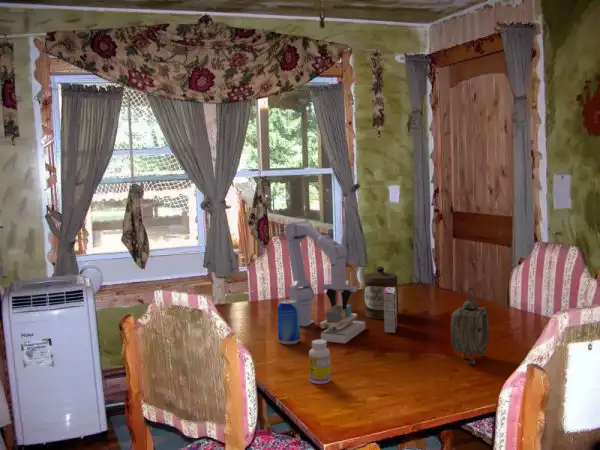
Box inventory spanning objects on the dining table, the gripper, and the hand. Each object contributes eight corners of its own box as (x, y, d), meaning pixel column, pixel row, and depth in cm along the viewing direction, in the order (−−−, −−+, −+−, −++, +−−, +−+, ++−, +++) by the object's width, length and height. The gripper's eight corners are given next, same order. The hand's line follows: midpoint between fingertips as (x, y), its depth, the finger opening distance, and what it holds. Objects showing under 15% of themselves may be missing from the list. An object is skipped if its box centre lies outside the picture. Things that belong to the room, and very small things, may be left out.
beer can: (303, 339, 244) (301, 299, 243) (295, 345, 236) (294, 304, 235) (282, 338, 247) (281, 298, 245) (275, 344, 239) (273, 303, 238)
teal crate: (338, 315, 253) (338, 306, 253) (342, 313, 257) (341, 304, 257) (347, 316, 252) (347, 306, 251) (351, 314, 255) (350, 304, 255)
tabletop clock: (476, 367, 206) (476, 292, 203) (449, 363, 211) (449, 290, 208) (488, 355, 218) (488, 284, 215) (463, 351, 223) (462, 282, 220)
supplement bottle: (308, 378, 201) (307, 339, 199) (329, 376, 201) (328, 337, 200) (310, 385, 194) (309, 345, 193) (332, 384, 195) (331, 343, 193)
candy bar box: (385, 325, 261) (384, 287, 259) (397, 326, 260) (396, 287, 258) (383, 333, 250) (382, 292, 248) (396, 333, 249) (395, 292, 247)
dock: (321, 340, 242) (320, 332, 241) (342, 326, 261) (342, 319, 261) (345, 343, 237) (344, 335, 237) (365, 328, 257) (365, 321, 257)
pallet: (320, 327, 243) (319, 310, 242) (339, 317, 260) (338, 300, 259) (339, 329, 239) (338, 311, 239) (357, 318, 256) (357, 301, 256)
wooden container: (360, 318, 274) (359, 268, 272) (369, 310, 288) (369, 263, 286) (393, 320, 269) (393, 270, 266) (401, 312, 282) (401, 264, 280)
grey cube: (326, 322, 244) (326, 311, 243) (331, 319, 247) (330, 309, 247) (336, 322, 242) (336, 312, 241) (340, 320, 245) (340, 310, 245)
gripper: (317, 275, 247) (318, 309, 249) (351, 277, 241) (352, 312, 242) (324, 272, 254) (325, 305, 255) (358, 274, 247) (358, 308, 249)
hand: (339, 308), depth 249 cm, fingers closed on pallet, 4 cm apart
